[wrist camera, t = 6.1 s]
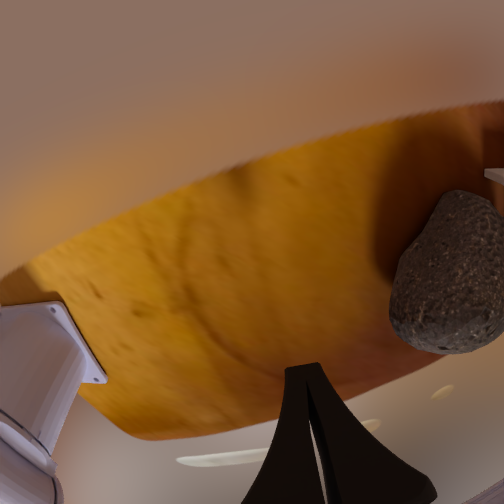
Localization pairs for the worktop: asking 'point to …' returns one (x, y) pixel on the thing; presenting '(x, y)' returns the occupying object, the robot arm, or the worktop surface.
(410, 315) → the stone
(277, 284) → the worktop surface
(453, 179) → the worktop surface
